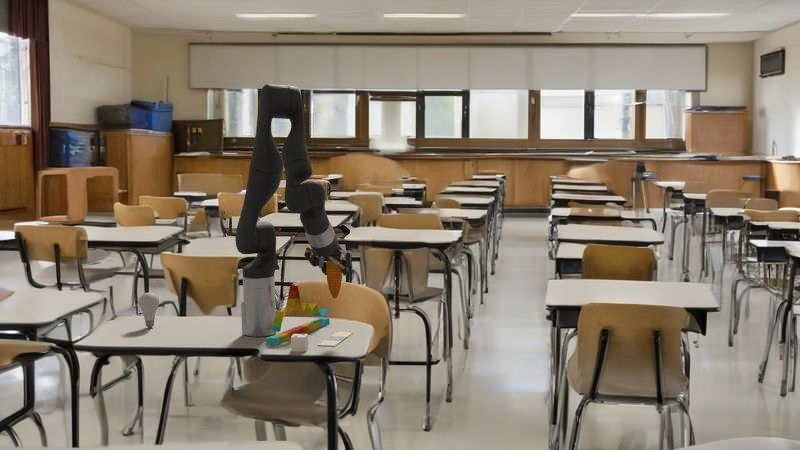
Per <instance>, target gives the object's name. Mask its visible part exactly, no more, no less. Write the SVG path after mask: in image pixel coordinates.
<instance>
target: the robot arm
mask: <svg viewBox="0 0 800 450" xmlns="http://www.w3.org/2000/svg"><path fill="white" fill-rule="evenodd" d="M303 104H304V103H303V98H302V93H301V91H300V89H299V88H298V87H297V86H293V85H287V84H273V83H266V84H264V85H263V87H262V88H261V90H260V92H259V97H258V107H257V118H256V128H255V134H254V135H255V137H254V143H253V148H252V153H251V159H250V163H249V169H248V176H247V183H246V188H245V189H246V190H245V194H244V199H243V203H242V204H243V205H242V206H241V207H242V208H241V211H240V214H239V219H238V222H237V226H236V230H235V237H234V238H235V240H234V242H235V246H236V249H237V251H238V253H240V254H242V255H255V254H256V257H255V258H254V260H252V261H251V262H249V263H248V264H246V265H245V266H244V267H243V268H242V288H243V289H242V291H243V302H241V304H240V311H241V313H240V316H241V335H242V336H244V335H245V336H248V337H257V338H258V337H259V338H260V337H266V336H267V337H270V336H274V335H276V333H277V332H270V331H267V330H272V328H273V324H274V320H275V316H276V312H277V311H276V289H275V287H276V286H275V285H276V284H275V270H276V269H275V268H276V264H277V234H276V229H275V226H274V225H273V223H272V222H270V221H263V220H262V221H258V220H259V217H260V215H261V212H262V211H263V209H264V208H265V206H266V205H267V204H268V203H269V201H270V200H271V199H272V198H273V196H274V195H275V194H276V192H277V191H278V189H279V187H280V185H281V179H282V174H283V169H284V173H285V188H284V203H285V207H286V208H287V210H288V211H289V212H291V213H293V214H299V213H300V214H299V220H300V222H301V225H302V228H303V229H304V232H305V233H304V234H305V236H306V239H307V241H308V244H309V246H310V247H306V248H305V250H304V253H303V254H304V255H303V256H304V257H305V258H306V259H307V261H308V262H309V263H310V265H311V266H312V267H314V268H316V267H318V268H319V269H320V270H321V272H322V274H324V275H325V276H327V274H326V262H327V261H333V262H334V263H335V264H336V265H339V266H340V267H341V271H342V276H347V275H348V274H349V270H350V268H351V265H352V261H353V249H352V248H351V247H348V248H347V249H343V247H341V246H340V244H339V243H340V242H339V240H338V238H337V235H336V232H335V230H334V227H333V225H332V223H331V222H330V220H329V217H328V214H327V212H326V206H325V205H326V191H325V188H324V186H323V184H322V183H321V182H320V181H317V180H309V179H310V178H311V177H312V175H313V168H312V163H311V159H310V156H309V152H308V147H307V142H306V141H307V140H306V125H305V115H304V105H303ZM273 119H279V120H280V119H283V120H289V122H290V130H289V133H288V135H287V137H286V138H285V141H284V143H283V145H282V149H281V152H280V151H279V148H278V146H277V144H276V142H275V139H274V137H273V132H272V122H273ZM308 180H309V181H308ZM341 261H342V262H341Z"/></svg>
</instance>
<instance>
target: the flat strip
mask: <svg viewBox="0 0 800 450" xmlns="http://www.w3.org/2000/svg"><path fill="white" fill-rule="evenodd" d="M353 334H354V332H347V331H344V332H343V331H336V332H334V333H333V334H332V335H330V336H329V337H328V338H327V337H326V339H324V340H322V342H320V343H318V344H317V346H320V347H336V346H338V345H339V344H341V343H342V342H343V341H345V340H346V339H348V338H349V337H350V336H352V335H353Z"/></svg>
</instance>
